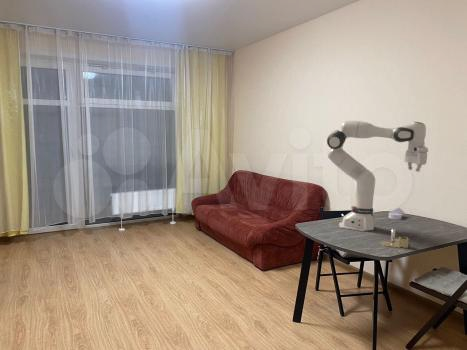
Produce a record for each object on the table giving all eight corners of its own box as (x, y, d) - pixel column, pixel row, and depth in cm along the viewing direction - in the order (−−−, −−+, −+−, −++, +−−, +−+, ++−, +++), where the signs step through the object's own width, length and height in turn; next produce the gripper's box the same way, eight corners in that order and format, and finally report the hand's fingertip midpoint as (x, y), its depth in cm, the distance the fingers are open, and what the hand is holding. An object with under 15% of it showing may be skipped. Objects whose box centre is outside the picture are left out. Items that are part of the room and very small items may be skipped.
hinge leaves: (382, 245, 199) (382, 237, 198) (380, 238, 212) (381, 230, 211) (409, 248, 194) (410, 240, 193) (406, 241, 207) (406, 233, 207)
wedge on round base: (392, 215, 273) (386, 217, 263) (393, 206, 272) (387, 209, 262) (404, 217, 267) (399, 220, 257) (405, 208, 266) (400, 211, 256)
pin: (390, 242, 204) (391, 229, 203) (390, 241, 206) (391, 228, 205) (394, 243, 203) (395, 230, 202) (394, 242, 205) (395, 229, 204)
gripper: (403, 147, 224) (400, 168, 226) (419, 149, 204) (416, 172, 205) (412, 147, 224) (410, 168, 226) (430, 149, 203) (427, 172, 205)
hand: (413, 170), depth 215 cm, fingers open, 8 cm apart
